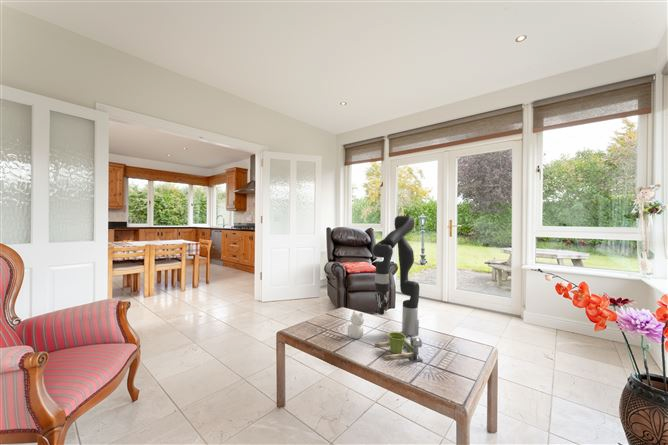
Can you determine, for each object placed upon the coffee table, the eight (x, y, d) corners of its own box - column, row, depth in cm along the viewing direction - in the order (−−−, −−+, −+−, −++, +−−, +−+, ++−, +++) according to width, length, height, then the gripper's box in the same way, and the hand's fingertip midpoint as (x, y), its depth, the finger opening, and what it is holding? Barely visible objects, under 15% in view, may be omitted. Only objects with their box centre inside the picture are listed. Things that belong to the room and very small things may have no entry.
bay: (403, 343, 153) (403, 338, 153) (418, 356, 138) (418, 350, 138) (374, 346, 149) (374, 340, 149) (386, 359, 134) (386, 353, 134)
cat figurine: (366, 336, 162) (367, 312, 162) (354, 342, 153) (355, 316, 153) (355, 332, 168) (356, 308, 168) (342, 337, 159) (343, 312, 159)
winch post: (417, 356, 138) (417, 331, 138) (422, 361, 133) (423, 335, 133) (404, 357, 136) (405, 332, 136) (409, 362, 131) (410, 336, 132)
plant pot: (406, 350, 145) (407, 334, 145) (403, 357, 137) (403, 340, 137) (389, 346, 149) (390, 330, 149) (385, 353, 141) (385, 336, 141)
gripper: (394, 284, 136) (393, 318, 136) (383, 279, 149) (382, 310, 149) (380, 284, 134) (379, 319, 134) (370, 279, 147) (370, 310, 147)
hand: (381, 314), depth 141 cm, fingers closed
